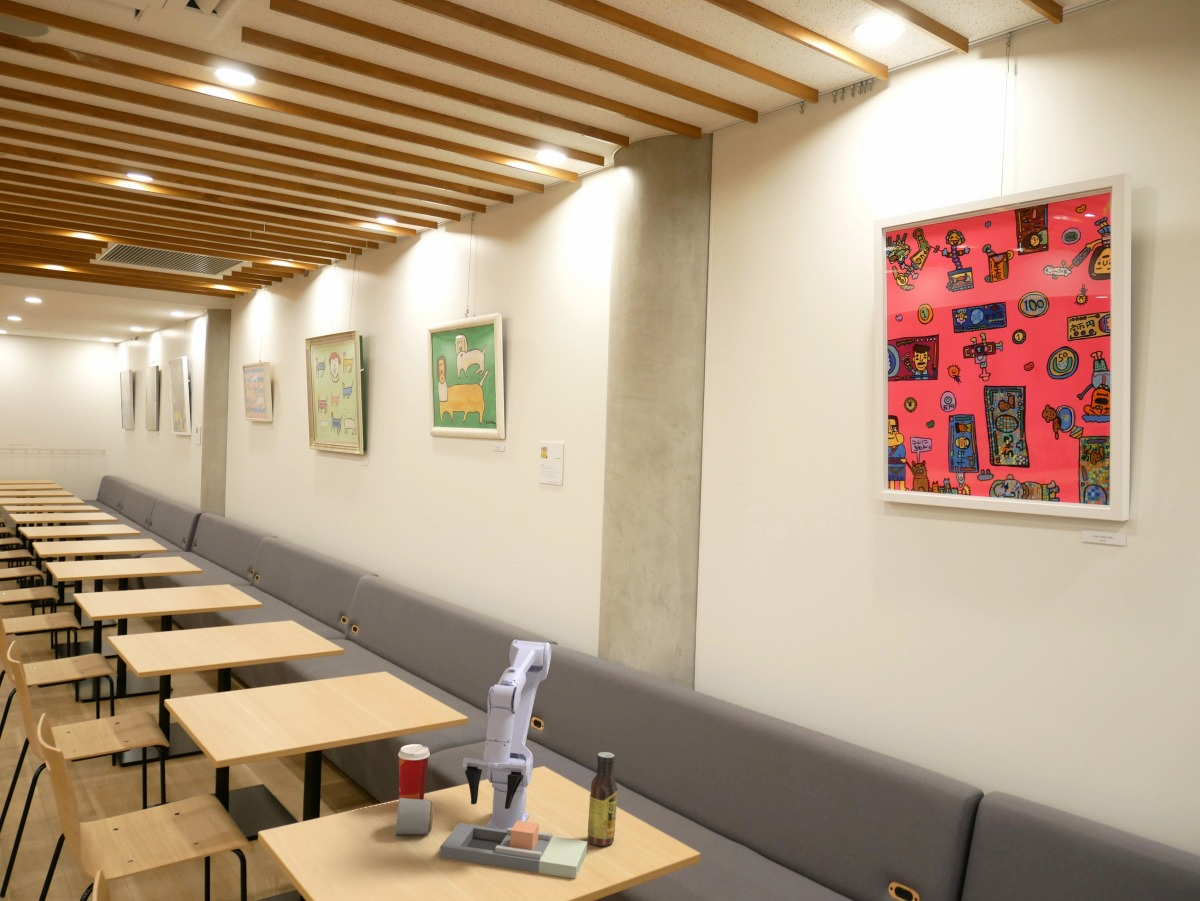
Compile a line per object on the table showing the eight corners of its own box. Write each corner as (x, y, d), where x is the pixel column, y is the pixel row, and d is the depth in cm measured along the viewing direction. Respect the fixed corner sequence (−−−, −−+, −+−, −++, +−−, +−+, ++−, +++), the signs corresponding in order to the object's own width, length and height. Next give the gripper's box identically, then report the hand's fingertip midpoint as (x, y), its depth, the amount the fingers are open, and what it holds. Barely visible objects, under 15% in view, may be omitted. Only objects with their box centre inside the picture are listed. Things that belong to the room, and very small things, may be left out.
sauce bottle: (611, 849, 196) (616, 761, 196) (584, 845, 197) (589, 758, 197) (616, 836, 202) (621, 752, 202) (590, 832, 204) (595, 748, 204)
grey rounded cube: (432, 839, 196) (434, 805, 196) (394, 840, 194) (396, 806, 194) (431, 819, 206) (433, 787, 206) (396, 820, 204) (398, 787, 205)
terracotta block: (516, 838, 193) (517, 820, 193) (537, 841, 192) (539, 823, 192) (509, 848, 188) (510, 830, 188) (532, 851, 187) (533, 833, 187)
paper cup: (413, 796, 218) (416, 741, 218) (433, 806, 213) (436, 749, 213) (388, 805, 212) (391, 748, 212) (407, 815, 207) (411, 757, 207)
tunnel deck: (458, 833, 199) (459, 818, 199) (586, 852, 194) (587, 836, 194) (439, 857, 187) (440, 841, 187) (575, 878, 182) (576, 861, 182)
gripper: (461, 737, 191) (453, 803, 187) (525, 745, 188) (518, 812, 185) (471, 736, 197) (463, 800, 194) (533, 743, 195) (526, 808, 191)
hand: (490, 806), depth 190 cm, fingers open, 7 cm apart
